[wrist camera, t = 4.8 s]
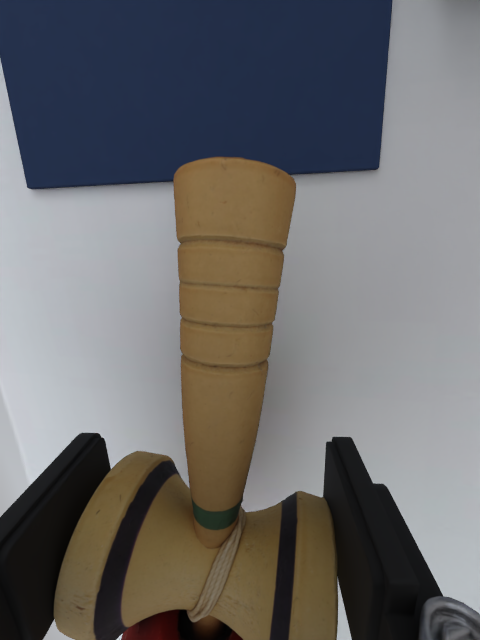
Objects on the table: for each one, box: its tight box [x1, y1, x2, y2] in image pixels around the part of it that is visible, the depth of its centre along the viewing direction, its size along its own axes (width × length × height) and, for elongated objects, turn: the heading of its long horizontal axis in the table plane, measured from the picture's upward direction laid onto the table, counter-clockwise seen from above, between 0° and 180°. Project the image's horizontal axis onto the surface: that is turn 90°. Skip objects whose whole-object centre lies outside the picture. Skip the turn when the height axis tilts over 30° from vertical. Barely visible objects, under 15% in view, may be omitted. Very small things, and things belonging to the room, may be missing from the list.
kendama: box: [54, 157, 338, 640], centre depth 8 cm, size 8×6×18 cm
